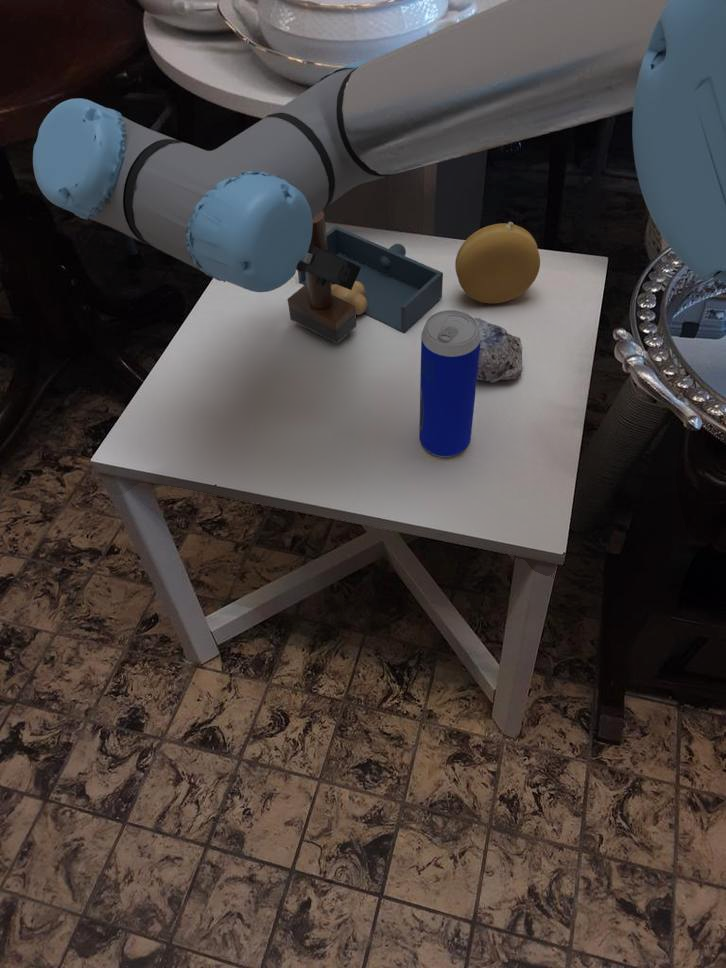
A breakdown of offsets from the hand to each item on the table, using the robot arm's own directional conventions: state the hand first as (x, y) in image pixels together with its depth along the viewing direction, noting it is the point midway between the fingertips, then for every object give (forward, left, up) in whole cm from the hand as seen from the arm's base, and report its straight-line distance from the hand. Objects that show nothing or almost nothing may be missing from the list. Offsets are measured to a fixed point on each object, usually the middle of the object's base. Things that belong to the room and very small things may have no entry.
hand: (341, 272), depth 86 cm
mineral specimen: (-17, -2, -6) cm, 18 cm away
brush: (0, +4, -5) cm, 6 cm away
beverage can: (-21, +10, -6) cm, 24 cm away
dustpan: (0, -6, -6) cm, 8 cm away
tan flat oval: (-13, -12, -6) cm, 19 cm away
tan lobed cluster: (0, -1, -5) cm, 5 cm away
